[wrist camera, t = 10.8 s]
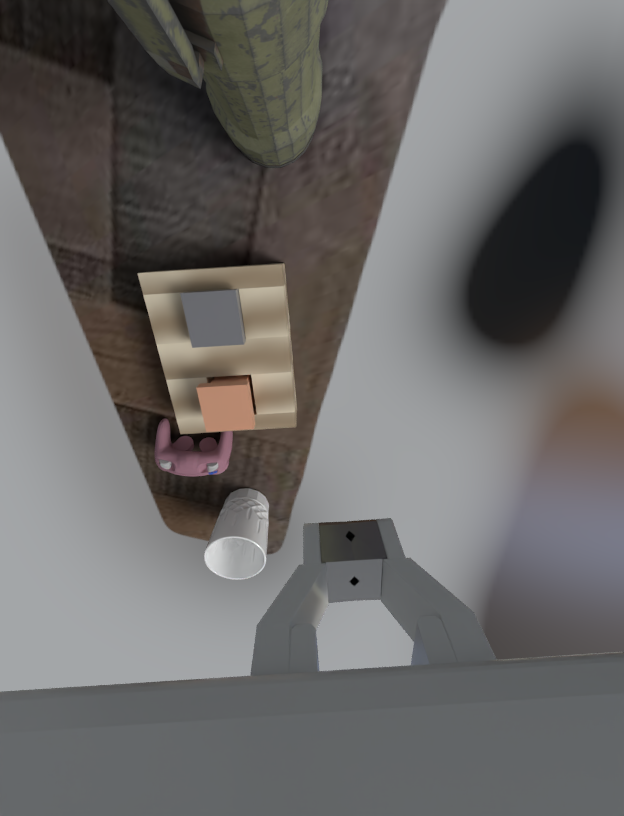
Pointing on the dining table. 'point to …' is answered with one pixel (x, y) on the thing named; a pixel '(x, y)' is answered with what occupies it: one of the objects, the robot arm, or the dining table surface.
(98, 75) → the dining table surface
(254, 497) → the white cup
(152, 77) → the dining table surface
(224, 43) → the thermos
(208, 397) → the terracotta plug
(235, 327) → the charcoal plug
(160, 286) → the socket block
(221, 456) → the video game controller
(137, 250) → the dining table surface
